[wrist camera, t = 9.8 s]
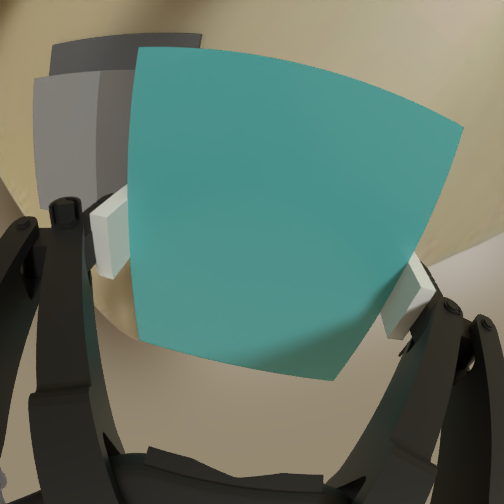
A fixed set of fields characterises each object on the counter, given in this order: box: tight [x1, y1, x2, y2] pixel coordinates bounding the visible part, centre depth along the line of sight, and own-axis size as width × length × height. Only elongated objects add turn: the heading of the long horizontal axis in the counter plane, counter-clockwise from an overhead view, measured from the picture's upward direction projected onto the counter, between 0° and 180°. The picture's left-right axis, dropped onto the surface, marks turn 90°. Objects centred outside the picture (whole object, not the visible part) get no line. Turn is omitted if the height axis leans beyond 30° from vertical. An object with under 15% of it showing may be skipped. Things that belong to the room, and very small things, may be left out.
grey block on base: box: [33, 33, 202, 212], centre depth 18 cm, size 14×16×6 cm
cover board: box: [127, 47, 464, 381], centre depth 12 cm, size 11×14×2 cm
